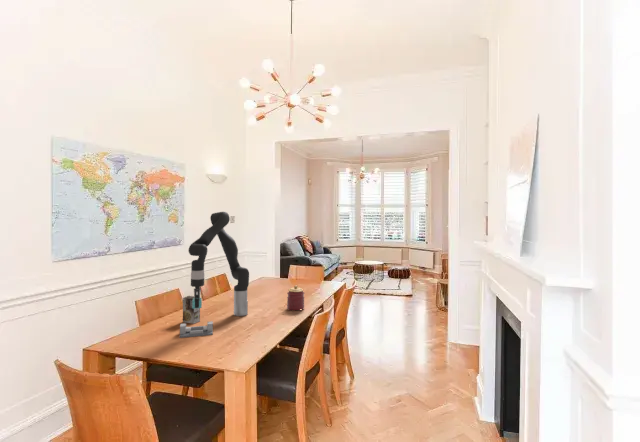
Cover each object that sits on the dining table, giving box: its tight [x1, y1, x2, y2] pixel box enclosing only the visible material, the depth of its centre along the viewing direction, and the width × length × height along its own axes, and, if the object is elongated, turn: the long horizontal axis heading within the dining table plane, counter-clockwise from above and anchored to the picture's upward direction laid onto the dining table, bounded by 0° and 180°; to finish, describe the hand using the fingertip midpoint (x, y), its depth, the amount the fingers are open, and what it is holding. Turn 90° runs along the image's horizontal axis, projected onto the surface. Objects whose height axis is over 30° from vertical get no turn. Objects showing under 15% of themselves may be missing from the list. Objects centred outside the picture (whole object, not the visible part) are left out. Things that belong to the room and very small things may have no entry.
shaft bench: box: [179, 320, 214, 339], centre depth 200 cm, size 18×12×5 cm, turn 108°
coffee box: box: [182, 295, 201, 324], centre depth 221 cm, size 9×6×16 cm
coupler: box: [192, 297, 203, 309], centre depth 200 cm, size 5×5×5 cm
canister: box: [286, 285, 305, 311], centre depth 255 cm, size 13×13×18 cm
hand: (197, 306), depth 200 cm, fingers closed on coupler, 5 cm apart
